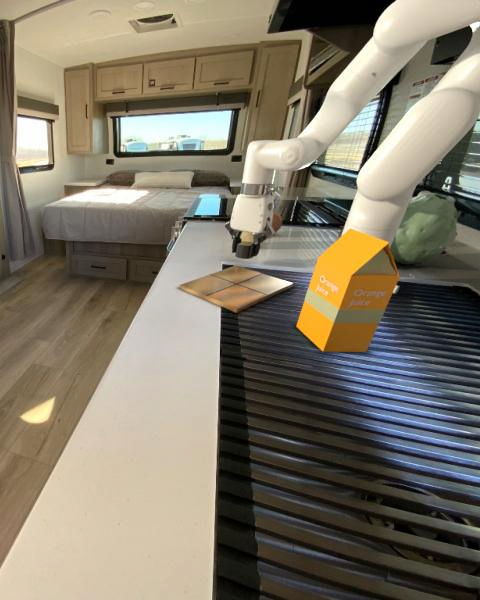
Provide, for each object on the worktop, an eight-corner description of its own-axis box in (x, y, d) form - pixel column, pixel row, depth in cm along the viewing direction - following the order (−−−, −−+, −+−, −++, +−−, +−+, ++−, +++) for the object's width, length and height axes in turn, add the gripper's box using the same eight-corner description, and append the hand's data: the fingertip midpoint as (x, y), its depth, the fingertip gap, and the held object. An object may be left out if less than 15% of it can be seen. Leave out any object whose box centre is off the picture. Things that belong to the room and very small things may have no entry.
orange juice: (334, 326, 66) (372, 228, 58) (367, 352, 58) (416, 242, 50) (294, 326, 67) (326, 228, 58) (322, 351, 59) (362, 242, 50)
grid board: (292, 286, 84) (293, 282, 83) (236, 312, 72) (237, 308, 72) (235, 268, 96) (236, 265, 95) (179, 288, 84) (179, 284, 84)
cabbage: (365, 264, 97) (393, 194, 88) (373, 250, 109) (398, 186, 100) (440, 278, 87) (479, 200, 78) (439, 260, 99) (473, 191, 90)
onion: (253, 242, 129) (245, 218, 126) (264, 231, 133) (257, 208, 130) (278, 238, 121) (271, 213, 118) (289, 227, 125) (282, 202, 123)
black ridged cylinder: (256, 256, 98) (258, 243, 96) (246, 260, 95) (249, 246, 94) (241, 253, 101) (243, 240, 100) (231, 256, 99) (233, 243, 97)
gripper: (295, 191, 86) (279, 258, 93) (235, 186, 99) (226, 245, 106) (279, 194, 82) (265, 263, 90) (219, 189, 95) (211, 250, 103)
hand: (244, 253), depth 98 cm, fingers closed on black ridged cylinder, 4 cm apart
